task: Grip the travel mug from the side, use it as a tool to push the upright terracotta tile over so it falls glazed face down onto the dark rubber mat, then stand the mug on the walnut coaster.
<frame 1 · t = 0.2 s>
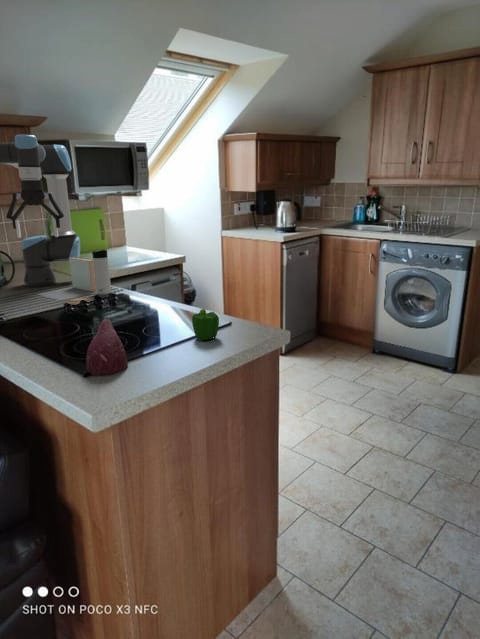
hand: (38, 237, 179), 28 cm above the countertop, tool pointing down, fingers open, 13 cm apart
bell pepper: (205, 339, 144), on the countertop
vegetable: (107, 369, 122), on the countertop
tile: (84, 289, 213), point 1 cm above the countertop, touching mat
travel mug: (104, 295, 204), on the countertop
mat: (70, 293, 208), on the countertop
coaster: (81, 303, 190), on the countertop
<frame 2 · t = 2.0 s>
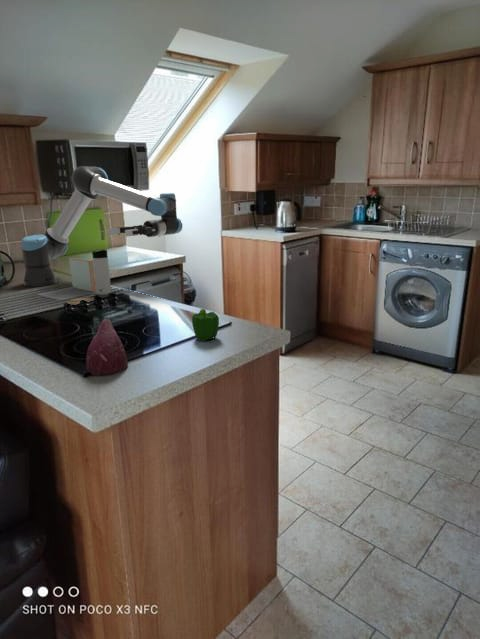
hand: (116, 232, 203), 26 cm above the countertop, tool horizontal, fingers open, 13 cm apart
nothing on the countertop moved.
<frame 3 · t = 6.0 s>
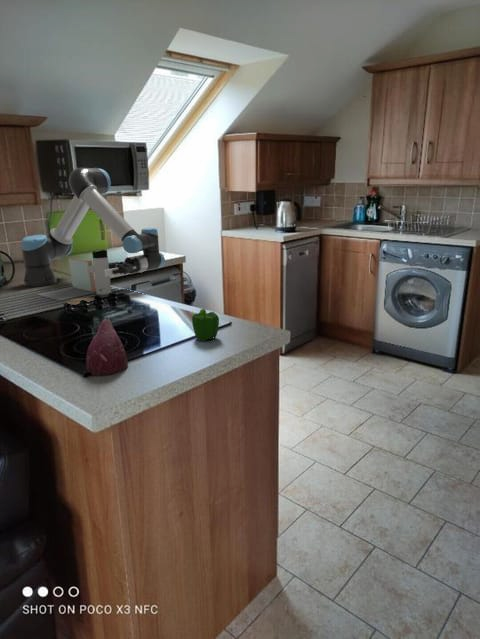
hand: (95, 271, 198), 11 cm above the countertop, tool horizontal, fingers open, 13 cm apart
tile: (84, 289, 213), point 1 cm above the countertop, touching gripper, mat
everything else where it was.
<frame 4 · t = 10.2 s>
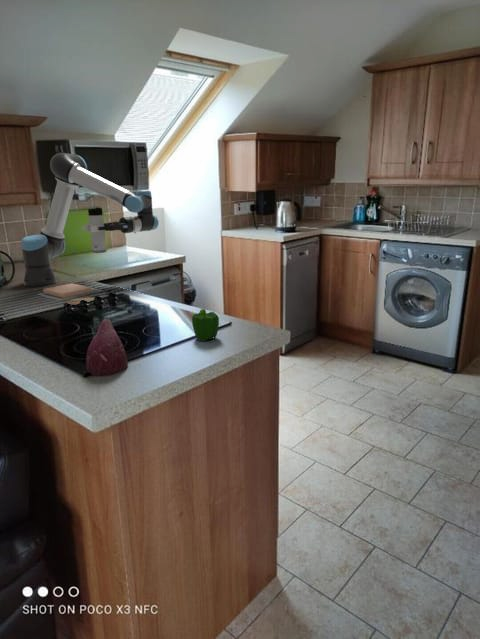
hand: (87, 228, 206), 28 cm above the countertop, tool horizontal, fingers closed on travel mug, 6 cm apart
tile: (81, 287, 211), point 2 cm above the countertop, tilted 90°, touching mat
travel mug: (99, 252, 213), point 17 cm above the countertop, touching gripper
everything else where it was.
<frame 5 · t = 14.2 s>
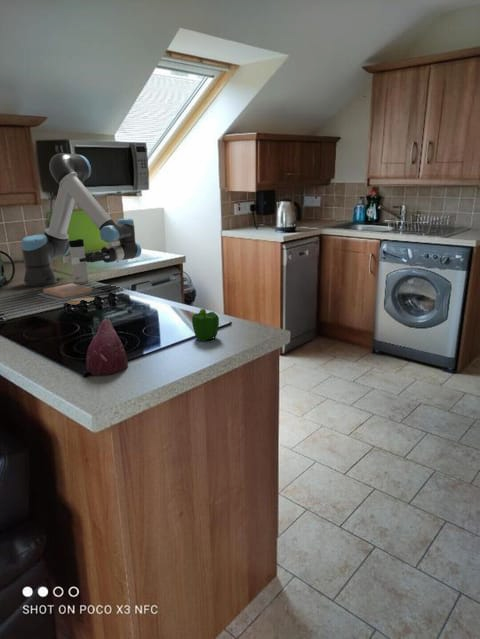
hand: (67, 260, 203), 15 cm above the countertop, tool horizontal, fingers closed on travel mug, 6 cm apart
travel mug: (81, 283, 210), point 4 cm above the countertop, touching gripper
everything else where it was.
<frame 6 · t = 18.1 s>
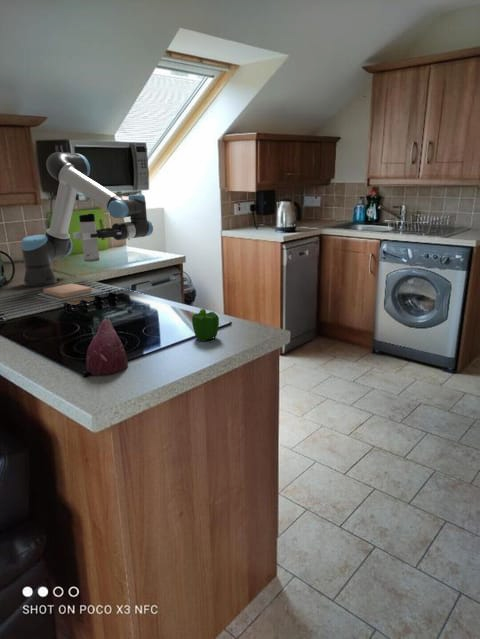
hand: (78, 236, 193), 26 cm above the countertop, tool horizontal, fingers closed on travel mug, 6 cm apart
travel mug: (92, 261, 200), point 15 cm above the countertop, touching gripper
everything else where it was.
when the fingers open (13 cm above the countertop, at t = 21.7 s): travel mug drops 1 cm, resting on coaster.
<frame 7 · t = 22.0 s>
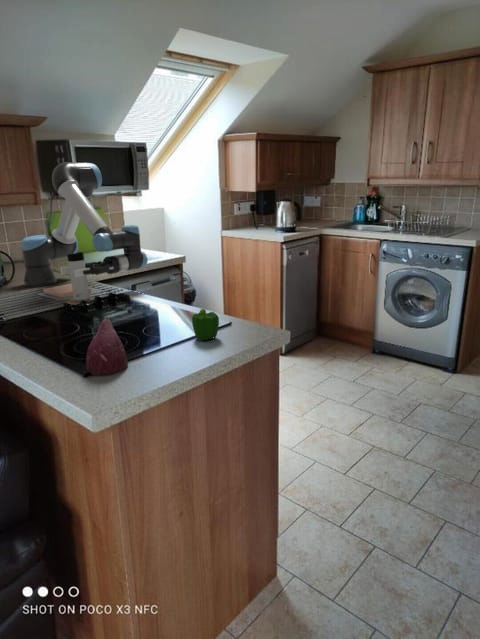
hand: (67, 272, 183), 13 cm above the countertop, tool horizontal, fingers open, 9 cm apart
travel mug: (82, 301, 190), point 1 cm above the countertop, touching coaster
everything else where it was.
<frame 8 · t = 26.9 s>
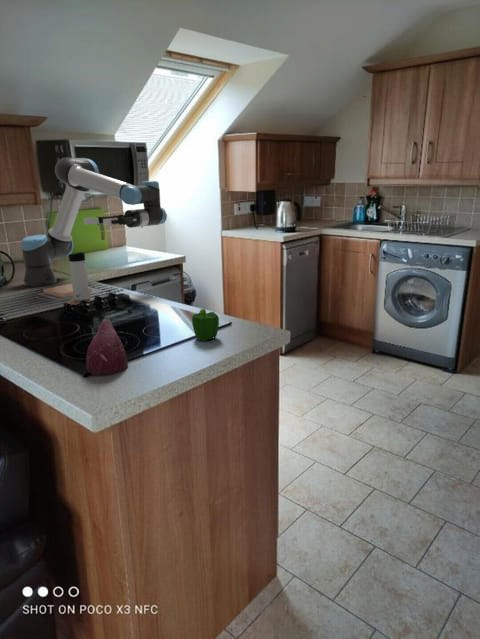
hand: (93, 222, 188), 32 cm above the countertop, tool horizontal, fingers open, 13 cm apart
nothing on the countertop moved.
at the end: tile tilted 90°; travel mug inside the target area on the coaster (0.4 cm from its centre), point 0.8 cm above the coaster's base; travel mug tilted 0° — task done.
